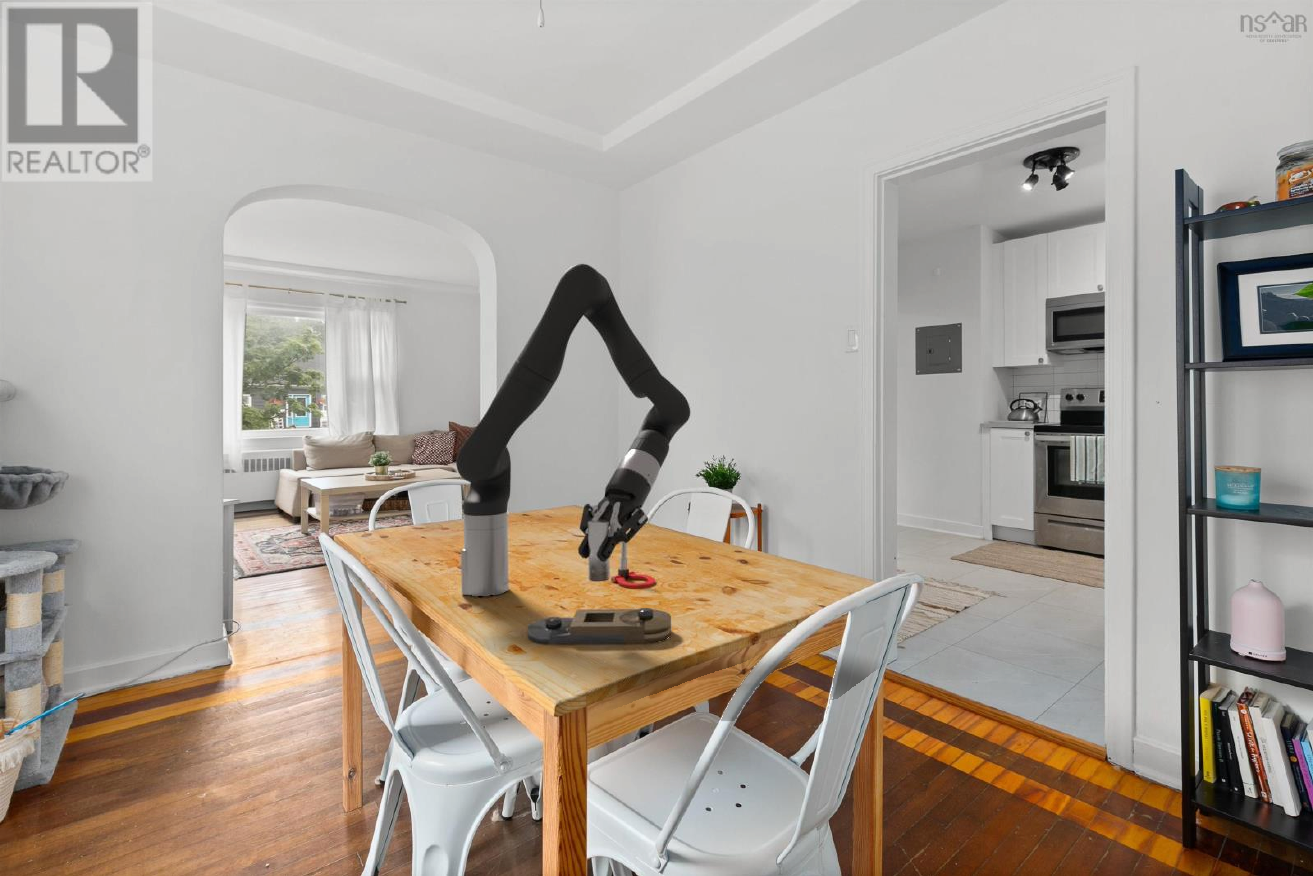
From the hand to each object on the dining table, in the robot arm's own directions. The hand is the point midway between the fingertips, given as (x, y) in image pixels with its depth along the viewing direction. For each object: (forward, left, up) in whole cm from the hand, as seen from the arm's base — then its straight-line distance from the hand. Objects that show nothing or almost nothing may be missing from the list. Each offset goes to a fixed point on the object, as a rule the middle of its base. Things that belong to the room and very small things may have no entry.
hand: (591, 557), depth 107 cm
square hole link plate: (+1, +2, -14) cm, 14 cm away
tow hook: (+6, +35, -14) cm, 38 cm away
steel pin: (+1, +2, -4) cm, 5 cm away
